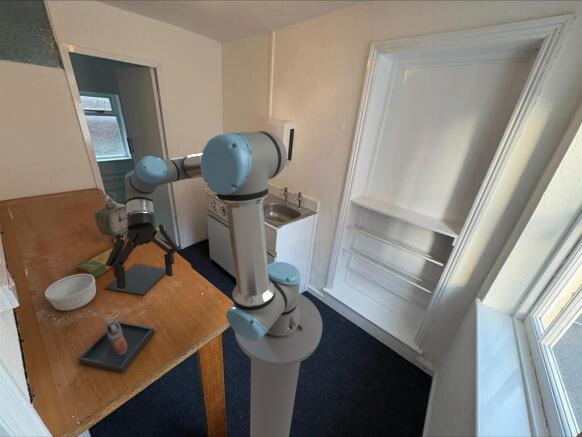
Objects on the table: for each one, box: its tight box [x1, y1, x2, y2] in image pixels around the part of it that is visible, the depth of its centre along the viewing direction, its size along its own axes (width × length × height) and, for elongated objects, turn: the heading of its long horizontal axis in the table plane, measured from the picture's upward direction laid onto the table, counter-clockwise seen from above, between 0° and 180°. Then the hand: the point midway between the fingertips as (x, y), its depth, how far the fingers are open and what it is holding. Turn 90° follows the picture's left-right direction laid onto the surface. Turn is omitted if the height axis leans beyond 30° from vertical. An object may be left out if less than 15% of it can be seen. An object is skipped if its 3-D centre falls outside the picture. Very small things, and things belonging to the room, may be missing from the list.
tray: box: [77, 320, 155, 373], centre depth 71 cm, size 13×13×2 cm
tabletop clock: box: [94, 192, 128, 244], centre depth 120 cm, size 14×9×25 cm, turn 168°
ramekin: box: [44, 273, 97, 312], centre depth 84 cm, size 13×13×7 cm
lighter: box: [104, 316, 128, 356], centre depth 69 cm, size 8×3×10 cm, turn 47°
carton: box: [75, 247, 122, 279], centre depth 102 cm, size 8×16×4 cm, turn 162°
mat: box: [105, 263, 166, 296], centre depth 98 cm, size 16×16×1 cm
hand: (145, 282), depth 68 cm, fingers open, 13 cm apart
